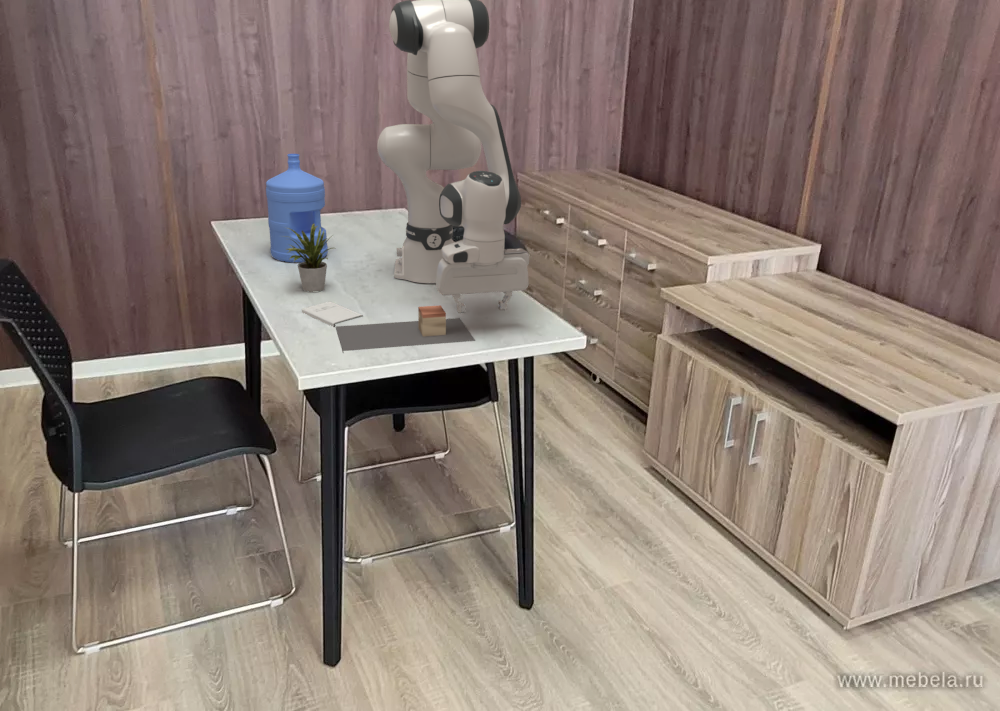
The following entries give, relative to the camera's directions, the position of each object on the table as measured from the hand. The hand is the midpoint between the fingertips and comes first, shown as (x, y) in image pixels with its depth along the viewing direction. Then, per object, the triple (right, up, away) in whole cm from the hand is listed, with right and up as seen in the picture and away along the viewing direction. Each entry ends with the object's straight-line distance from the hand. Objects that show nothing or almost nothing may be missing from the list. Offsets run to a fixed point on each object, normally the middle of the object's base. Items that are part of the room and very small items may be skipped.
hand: (481, 310), depth 180 cm
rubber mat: (-17, -6, -3) cm, 18 cm away
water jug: (-52, +18, +50) cm, 75 cm away
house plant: (-43, +7, +25) cm, 51 cm away
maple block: (-11, -5, -1) cm, 12 cm away
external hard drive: (-34, -1, +8) cm, 35 cm away
